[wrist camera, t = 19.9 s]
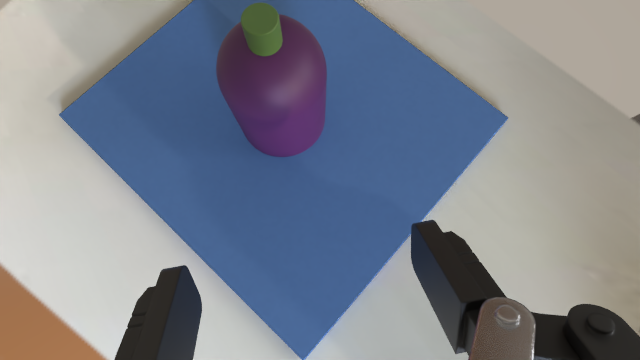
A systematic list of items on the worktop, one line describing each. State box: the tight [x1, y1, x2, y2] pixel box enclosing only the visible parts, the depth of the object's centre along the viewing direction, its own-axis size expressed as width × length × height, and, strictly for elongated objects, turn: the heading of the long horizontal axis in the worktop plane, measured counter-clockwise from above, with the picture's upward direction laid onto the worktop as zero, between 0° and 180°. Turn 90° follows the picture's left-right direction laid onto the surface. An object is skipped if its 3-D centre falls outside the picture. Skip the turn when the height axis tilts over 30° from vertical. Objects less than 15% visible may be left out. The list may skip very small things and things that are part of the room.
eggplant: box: [216, 3, 327, 157], centre depth 17 cm, size 5×5×9 cm
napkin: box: [59, 0, 508, 360], centre depth 22 cm, size 20×18×1 cm
